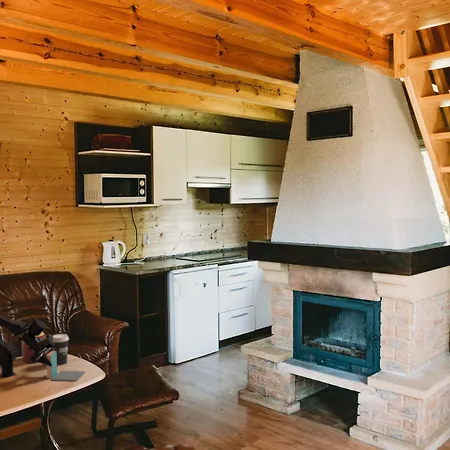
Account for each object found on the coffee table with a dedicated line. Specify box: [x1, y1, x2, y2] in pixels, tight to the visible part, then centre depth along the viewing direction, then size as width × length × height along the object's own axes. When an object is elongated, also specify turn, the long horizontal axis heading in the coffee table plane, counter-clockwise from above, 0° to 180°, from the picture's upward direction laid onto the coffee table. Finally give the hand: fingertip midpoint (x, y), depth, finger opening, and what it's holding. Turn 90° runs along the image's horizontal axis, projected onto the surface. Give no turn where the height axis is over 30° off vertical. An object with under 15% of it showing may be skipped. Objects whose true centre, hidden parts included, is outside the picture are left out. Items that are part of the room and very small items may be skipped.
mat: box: [50, 370, 86, 382], centre depth 273 cm, size 13×12×1 cm
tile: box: [46, 351, 58, 379], centre depth 273 cm, size 2×6×12 cm, turn 174°
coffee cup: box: [52, 333, 70, 366], centre depth 293 cm, size 10×10×15 cm
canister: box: [21, 331, 46, 364], centre depth 299 cm, size 13×13×18 cm
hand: (54, 363), depth 273 cm, fingers closed on tile, 6 cm apart
